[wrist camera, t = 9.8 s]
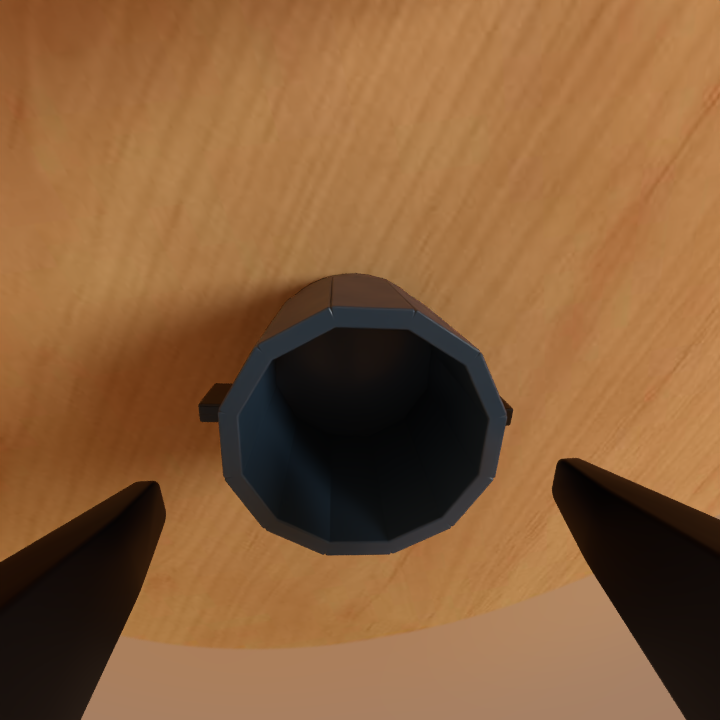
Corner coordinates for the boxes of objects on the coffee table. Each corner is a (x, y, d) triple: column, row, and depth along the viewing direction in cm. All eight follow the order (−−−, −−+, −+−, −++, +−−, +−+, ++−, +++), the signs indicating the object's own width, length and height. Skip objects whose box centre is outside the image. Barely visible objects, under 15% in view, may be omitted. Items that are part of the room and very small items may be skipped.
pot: (515, 553, 11) (575, 314, 8) (188, 559, 10) (153, 299, 8) (447, 431, 17) (470, 278, 15) (246, 429, 17) (236, 268, 14)
